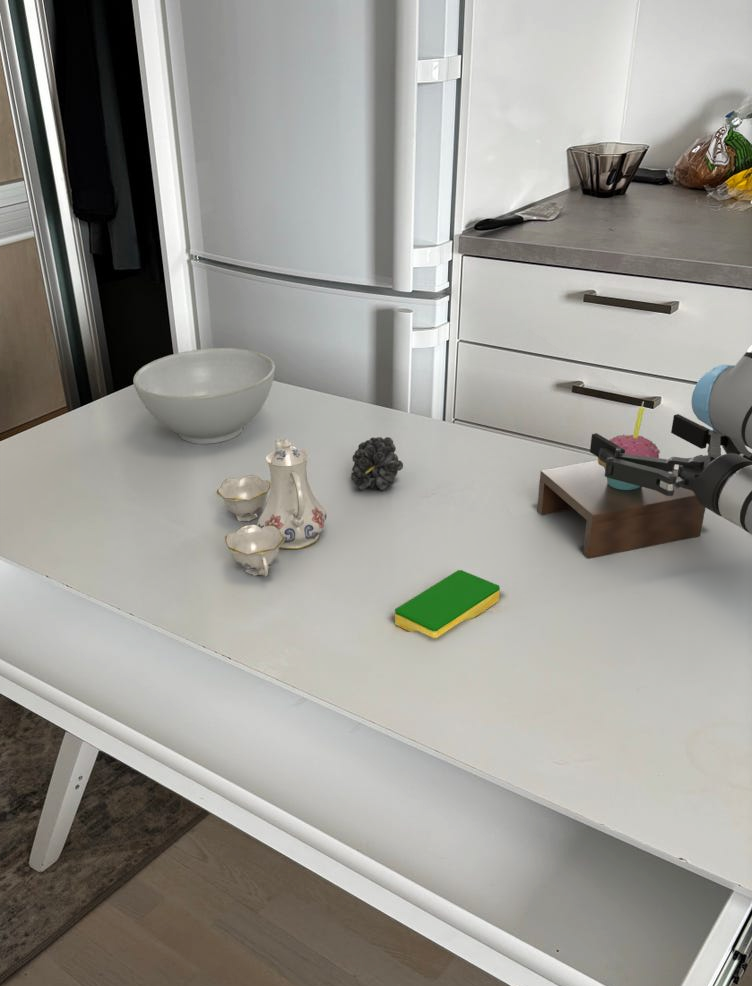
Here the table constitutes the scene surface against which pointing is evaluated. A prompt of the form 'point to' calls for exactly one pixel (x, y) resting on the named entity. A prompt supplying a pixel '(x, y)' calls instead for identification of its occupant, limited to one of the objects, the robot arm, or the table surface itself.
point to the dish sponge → (447, 604)
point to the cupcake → (632, 450)
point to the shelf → (618, 509)
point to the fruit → (375, 464)
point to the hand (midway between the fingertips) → (634, 432)
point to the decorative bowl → (206, 391)
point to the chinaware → (273, 510)
